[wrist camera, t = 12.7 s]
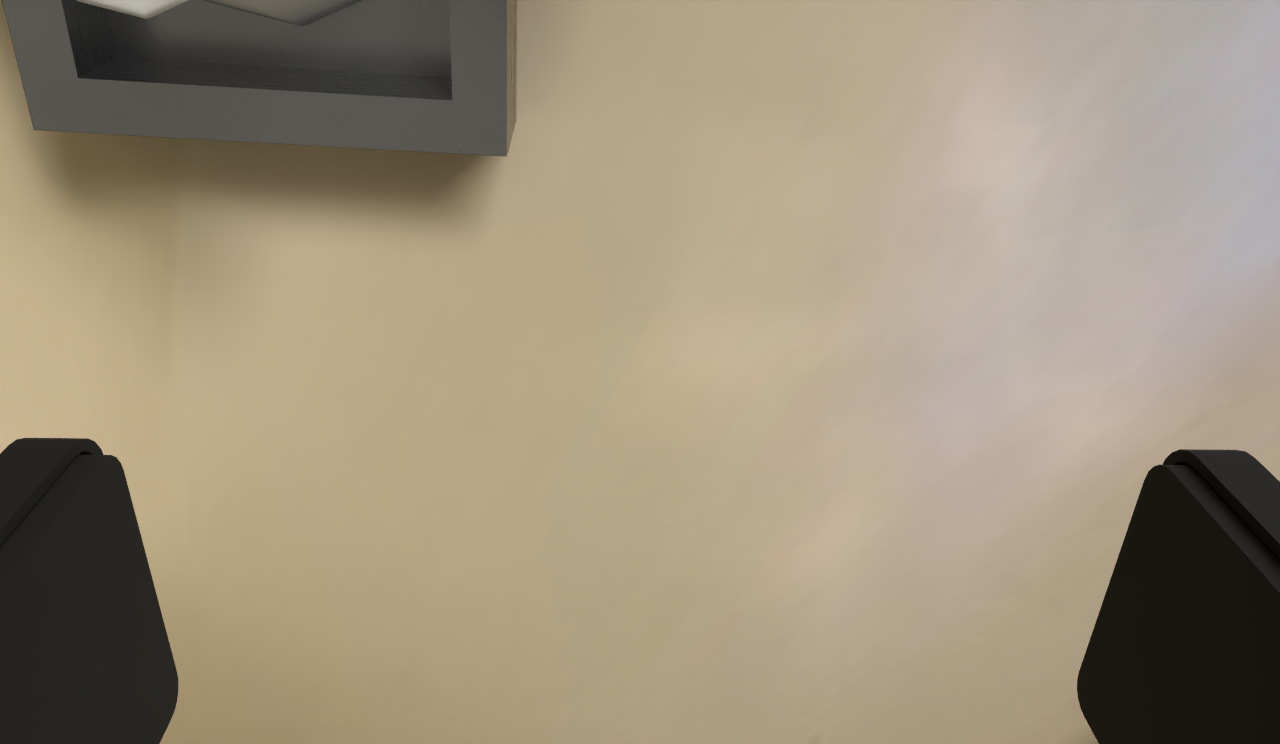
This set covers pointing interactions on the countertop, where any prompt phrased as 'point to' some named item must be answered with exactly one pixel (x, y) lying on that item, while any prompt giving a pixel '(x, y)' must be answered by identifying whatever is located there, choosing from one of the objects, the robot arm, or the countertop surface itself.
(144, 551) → the robot arm
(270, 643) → the countertop surface
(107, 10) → the cup bracket
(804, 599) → the countertop surface
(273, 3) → the flask
